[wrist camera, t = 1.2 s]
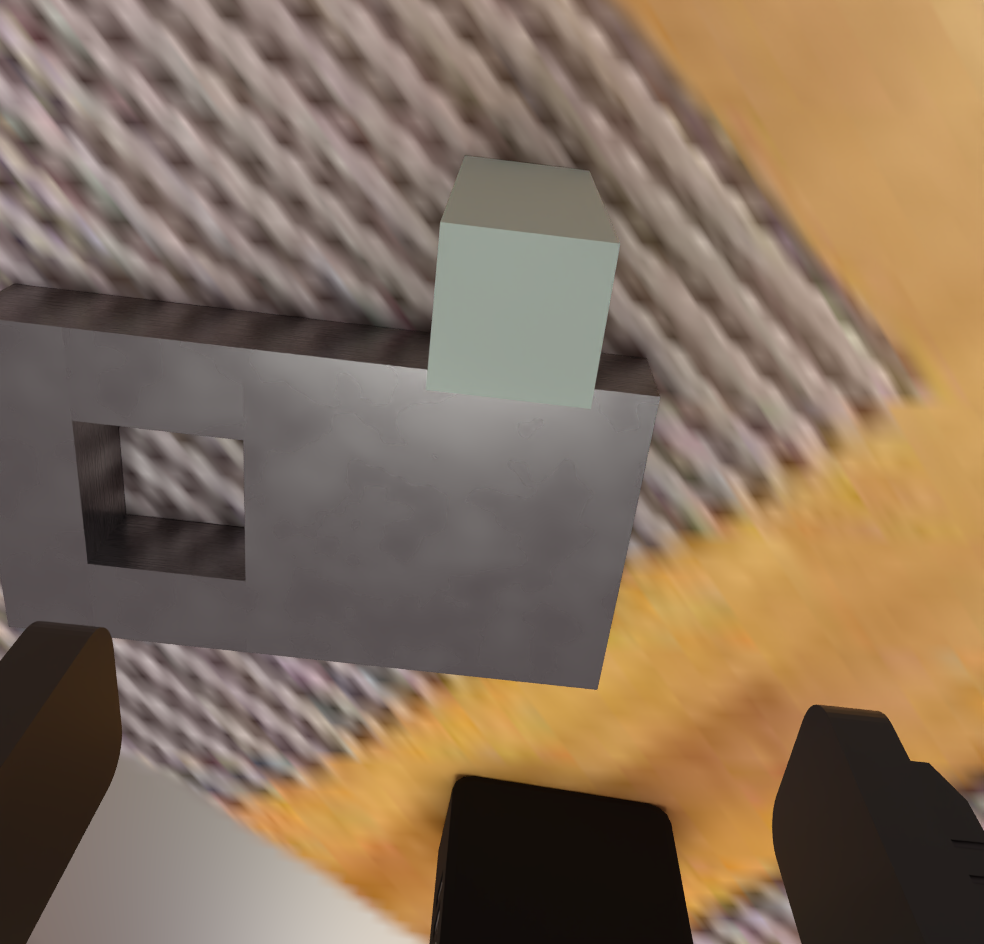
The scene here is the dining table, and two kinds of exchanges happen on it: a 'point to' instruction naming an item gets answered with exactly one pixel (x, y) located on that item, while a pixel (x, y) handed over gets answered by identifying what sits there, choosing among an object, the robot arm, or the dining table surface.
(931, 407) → the dining table surface
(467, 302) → the sage green square post
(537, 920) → the electronic device
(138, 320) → the grey peg hole base
